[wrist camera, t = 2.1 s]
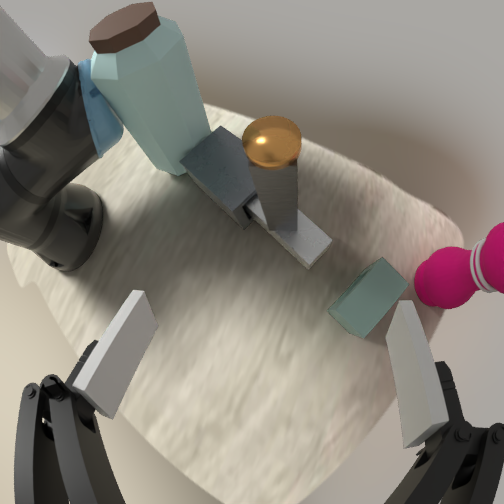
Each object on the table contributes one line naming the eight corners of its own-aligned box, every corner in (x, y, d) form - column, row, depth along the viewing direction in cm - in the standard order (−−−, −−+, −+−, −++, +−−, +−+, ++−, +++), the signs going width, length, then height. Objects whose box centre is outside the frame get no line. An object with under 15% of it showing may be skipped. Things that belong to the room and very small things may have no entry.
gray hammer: (206, 178, 36) (146, 87, 19) (229, 158, 36) (184, 59, 19) (306, 272, 31) (318, 219, 14) (330, 246, 31) (365, 170, 14)
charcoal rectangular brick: (196, 184, 38) (179, 161, 32) (231, 152, 38) (220, 125, 32) (243, 229, 35) (232, 211, 29) (281, 192, 35) (278, 168, 29)
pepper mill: (437, 245, 31) (533, 183, 11) (461, 289, 29) (568, 260, 9) (401, 274, 31) (501, 226, 11) (426, 321, 29) (538, 317, 9)
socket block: (326, 310, 31) (335, 309, 24) (365, 268, 32) (382, 256, 25) (349, 333, 30) (363, 338, 23) (387, 290, 31) (409, 284, 24)
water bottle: (179, 192, 38) (91, 67, 13) (142, 154, 39) (60, 43, 15) (229, 148, 39) (199, 1, 14) (189, 115, 40) (143, -10, 16)
